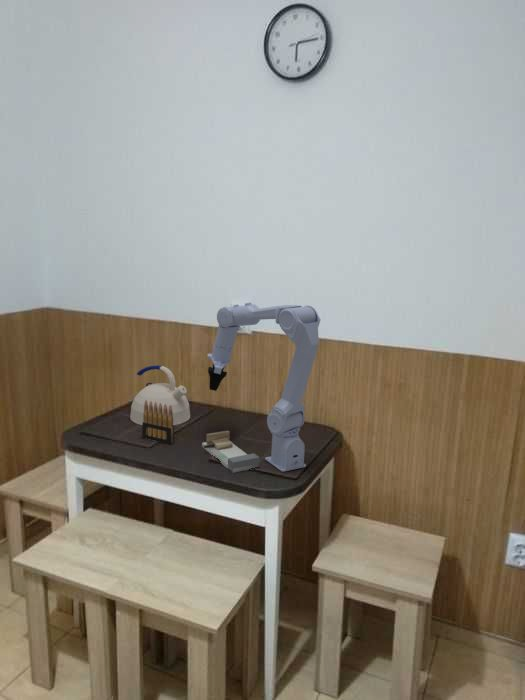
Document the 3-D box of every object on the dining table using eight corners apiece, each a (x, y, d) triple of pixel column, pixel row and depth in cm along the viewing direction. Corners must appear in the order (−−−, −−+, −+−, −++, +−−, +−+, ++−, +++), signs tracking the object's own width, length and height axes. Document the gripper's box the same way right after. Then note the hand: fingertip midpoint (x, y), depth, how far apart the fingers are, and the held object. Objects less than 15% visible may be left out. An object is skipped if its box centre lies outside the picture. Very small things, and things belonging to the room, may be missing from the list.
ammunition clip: (141, 438, 164) (141, 400, 161) (145, 436, 166) (145, 398, 163) (171, 444, 160) (171, 406, 157) (174, 442, 161) (174, 404, 159)
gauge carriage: (235, 446, 157) (235, 436, 156) (207, 451, 152) (207, 441, 152) (227, 439, 161) (227, 430, 160) (199, 444, 157) (200, 434, 156)
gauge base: (259, 467, 146) (259, 457, 146) (232, 473, 142) (233, 462, 142) (226, 442, 163) (226, 432, 162) (202, 446, 159) (202, 437, 159)
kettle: (165, 432, 170) (165, 376, 166) (116, 419, 180) (115, 366, 176) (203, 415, 187) (203, 364, 183) (157, 404, 197) (157, 356, 193)
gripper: (213, 332, 167) (204, 370, 172) (208, 351, 154) (198, 391, 159) (235, 338, 167) (225, 375, 173) (232, 356, 154) (221, 397, 159)
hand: (214, 384), depth 166 cm, fingers open, 7 cm apart
